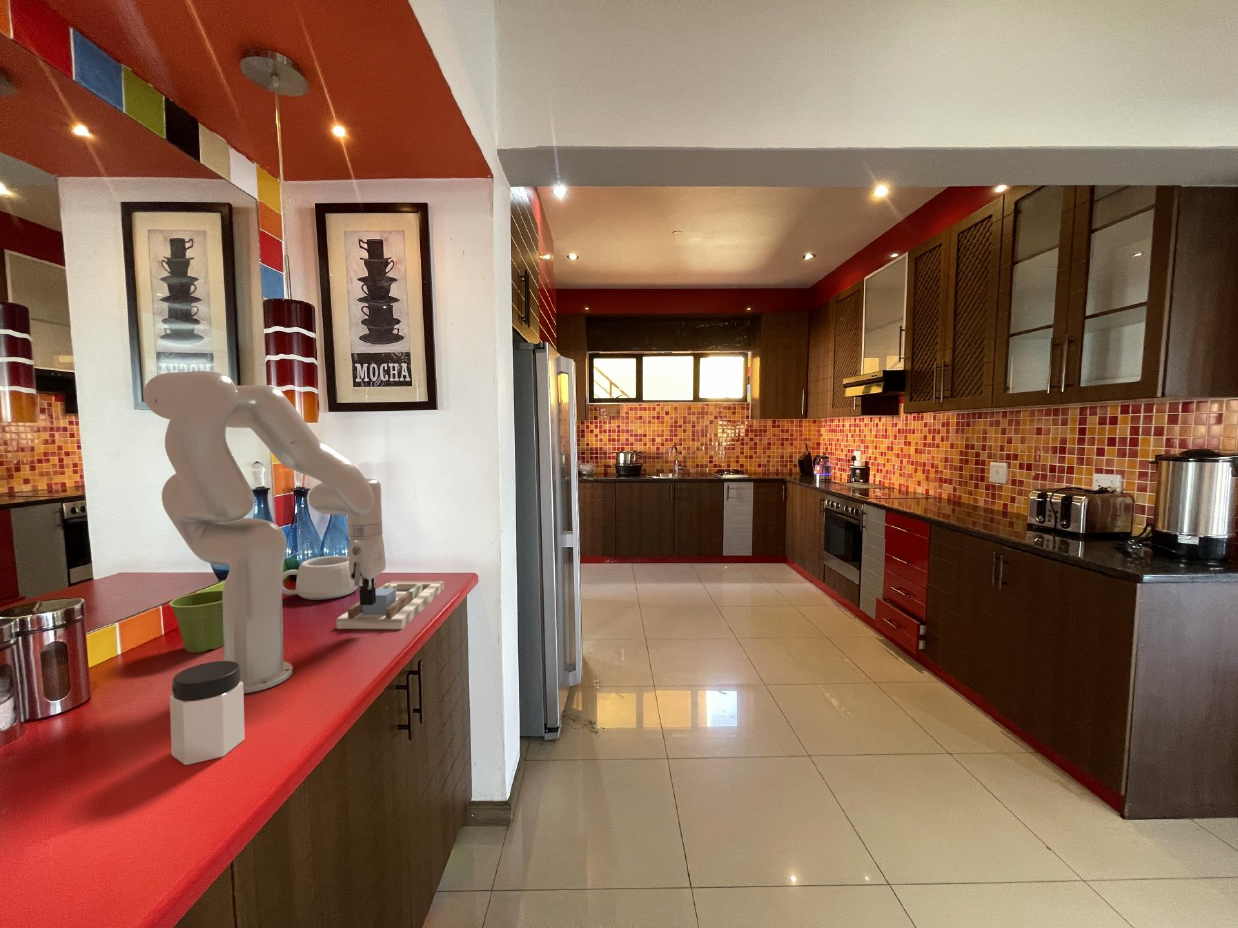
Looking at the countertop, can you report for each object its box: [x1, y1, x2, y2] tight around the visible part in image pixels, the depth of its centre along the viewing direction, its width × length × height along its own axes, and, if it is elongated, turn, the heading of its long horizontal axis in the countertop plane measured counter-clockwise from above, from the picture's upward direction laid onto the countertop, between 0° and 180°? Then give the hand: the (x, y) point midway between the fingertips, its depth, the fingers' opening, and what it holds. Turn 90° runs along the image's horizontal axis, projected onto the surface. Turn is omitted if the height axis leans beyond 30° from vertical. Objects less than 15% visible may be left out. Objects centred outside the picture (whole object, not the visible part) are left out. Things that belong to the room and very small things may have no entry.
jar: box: [169, 660, 246, 766], centre depth 82 cm, size 9×8×12 cm
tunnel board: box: [336, 580, 445, 630], centre depth 149 cm, size 34×16×5 cm, turn 1°
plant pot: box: [168, 589, 224, 654], centre depth 119 cm, size 12×12×11 cm
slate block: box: [363, 588, 396, 615], centre depth 138 cm, size 6×6×5 cm
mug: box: [282, 555, 358, 601], centre depth 159 cm, size 21×17×10 cm
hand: (368, 603), depth 131 cm, fingers closed
